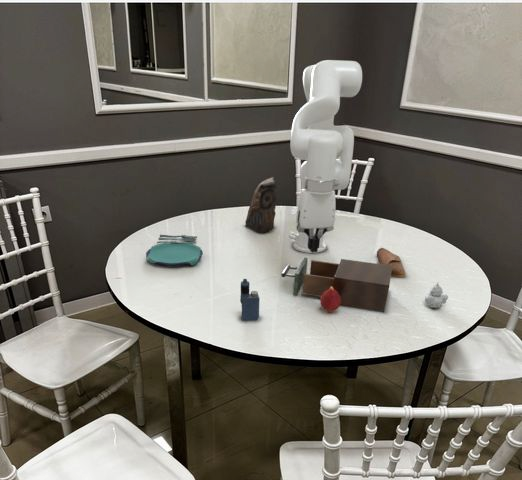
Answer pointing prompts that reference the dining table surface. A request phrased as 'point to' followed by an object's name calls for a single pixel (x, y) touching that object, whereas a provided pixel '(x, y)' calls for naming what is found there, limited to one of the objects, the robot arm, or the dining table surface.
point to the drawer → (312, 277)
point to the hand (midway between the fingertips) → (312, 250)
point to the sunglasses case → (391, 262)
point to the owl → (262, 207)
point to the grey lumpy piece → (436, 297)
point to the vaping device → (249, 302)
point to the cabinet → (362, 284)
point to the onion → (330, 300)
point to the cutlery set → (175, 251)
